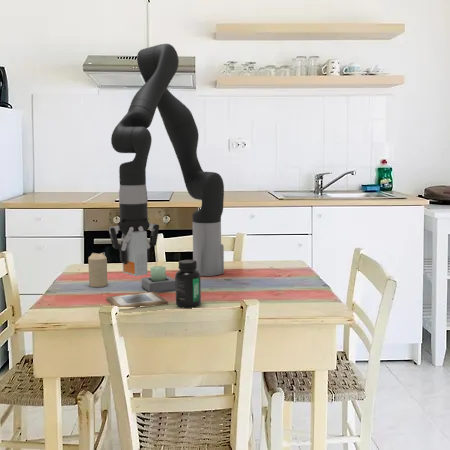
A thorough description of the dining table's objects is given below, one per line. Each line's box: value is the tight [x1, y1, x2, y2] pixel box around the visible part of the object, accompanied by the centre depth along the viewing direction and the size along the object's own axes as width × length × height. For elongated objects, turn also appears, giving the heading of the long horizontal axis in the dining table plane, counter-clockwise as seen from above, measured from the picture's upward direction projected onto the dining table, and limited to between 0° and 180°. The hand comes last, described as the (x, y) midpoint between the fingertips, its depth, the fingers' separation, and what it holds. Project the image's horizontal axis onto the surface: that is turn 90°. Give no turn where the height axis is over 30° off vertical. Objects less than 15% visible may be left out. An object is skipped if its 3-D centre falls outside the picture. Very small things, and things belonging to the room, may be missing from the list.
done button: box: [150, 265, 167, 282], centre depth 198 cm, size 4×4×4 cm
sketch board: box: [105, 291, 169, 307], centre depth 185 cm, size 14×12×1 cm
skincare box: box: [121, 231, 148, 277], centre depth 183 cm, size 6×4×12 cm
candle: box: [87, 252, 108, 288], centre depth 204 cm, size 6×6×10 cm
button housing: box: [141, 274, 176, 294], centre depth 199 cm, size 8×8×3 cm
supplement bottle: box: [174, 259, 202, 309], centre depth 180 cm, size 7×7×12 cm
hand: (135, 262), depth 183 cm, fingers closed on skincare box, 5 cm apart
